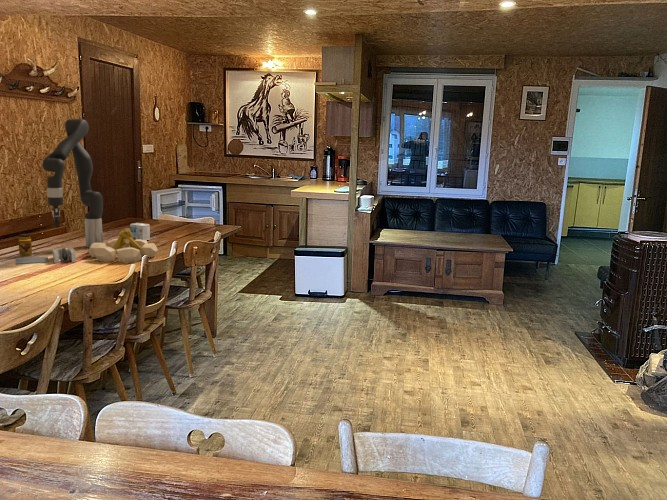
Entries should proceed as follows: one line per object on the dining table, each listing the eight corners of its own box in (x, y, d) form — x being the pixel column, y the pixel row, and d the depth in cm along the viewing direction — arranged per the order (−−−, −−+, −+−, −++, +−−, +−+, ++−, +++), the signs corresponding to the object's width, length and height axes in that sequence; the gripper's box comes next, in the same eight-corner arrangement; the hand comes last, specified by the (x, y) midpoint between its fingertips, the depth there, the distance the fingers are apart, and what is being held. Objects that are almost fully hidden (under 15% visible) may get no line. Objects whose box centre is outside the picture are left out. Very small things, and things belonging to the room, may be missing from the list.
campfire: (126, 266, 284) (125, 234, 281) (75, 259, 295) (74, 228, 292) (168, 254, 316) (167, 225, 313) (121, 248, 328) (120, 220, 324)
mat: (47, 257, 296) (47, 256, 296) (49, 262, 285) (49, 261, 285) (15, 259, 288) (15, 258, 288) (16, 264, 277) (16, 263, 277)
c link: (53, 257, 295) (52, 248, 294) (73, 256, 300) (72, 247, 299) (55, 263, 283) (54, 254, 282) (76, 261, 288) (75, 252, 287)
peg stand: (68, 260, 291) (68, 247, 289) (69, 261, 287) (68, 248, 286) (60, 260, 289) (59, 247, 287) (61, 262, 285) (60, 249, 284)
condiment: (25, 257, 292) (24, 235, 290) (13, 256, 294) (11, 234, 292) (36, 255, 299) (35, 233, 296) (24, 253, 301) (23, 232, 299)
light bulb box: (130, 240, 352) (129, 223, 349) (137, 238, 358) (136, 222, 355) (143, 242, 348) (142, 225, 346) (150, 240, 354) (150, 224, 352)
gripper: (63, 197, 286) (65, 227, 289) (62, 194, 298) (63, 223, 302) (47, 197, 283) (49, 228, 286) (46, 194, 295) (48, 224, 298)
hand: (56, 226), depth 294 cm, fingers open, 8 cm apart
